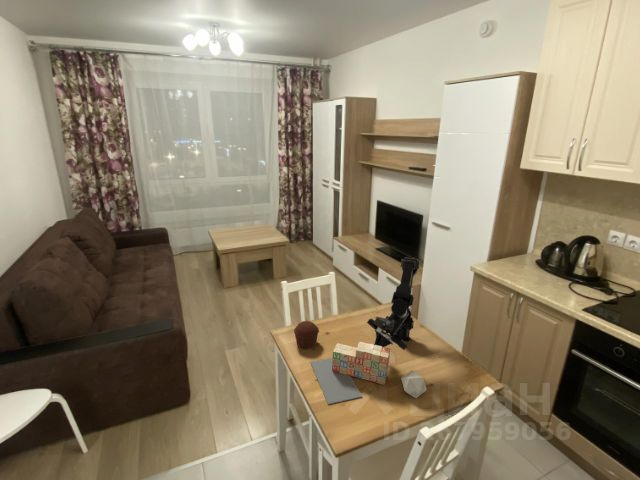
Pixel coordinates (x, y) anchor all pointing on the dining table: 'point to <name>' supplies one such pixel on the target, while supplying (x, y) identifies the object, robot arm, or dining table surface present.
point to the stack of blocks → (362, 361)
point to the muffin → (306, 334)
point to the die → (413, 384)
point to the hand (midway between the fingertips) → (373, 350)
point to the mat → (334, 382)
